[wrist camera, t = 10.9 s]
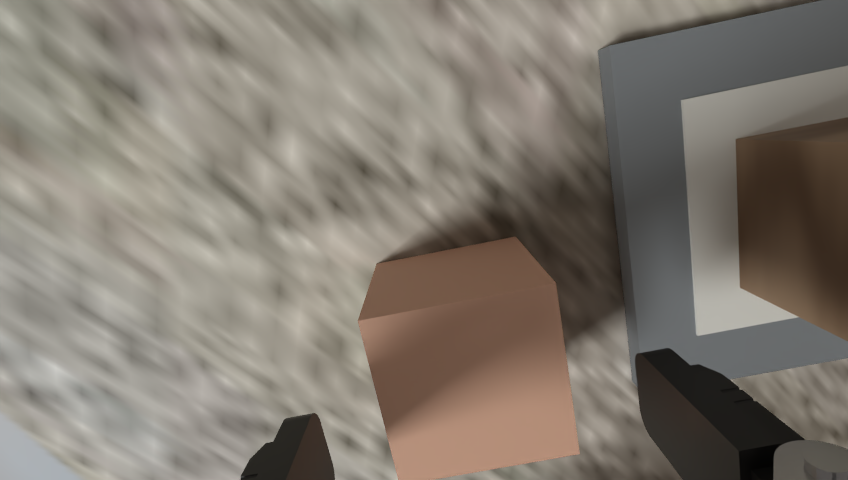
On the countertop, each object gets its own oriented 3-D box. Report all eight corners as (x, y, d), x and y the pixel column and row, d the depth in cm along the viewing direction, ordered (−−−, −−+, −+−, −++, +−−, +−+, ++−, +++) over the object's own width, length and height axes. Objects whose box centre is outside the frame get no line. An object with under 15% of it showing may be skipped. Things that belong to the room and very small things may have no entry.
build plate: (598, 50, 14) (610, 45, 13) (986, -33, 14) (1029, -45, 13) (632, 381, 17) (645, 396, 16) (956, 322, 17) (989, 334, 16)
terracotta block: (377, 263, 16) (357, 321, 11) (515, 236, 16) (555, 283, 11) (405, 385, 17) (400, 485, 12) (534, 361, 17) (579, 454, 12)
